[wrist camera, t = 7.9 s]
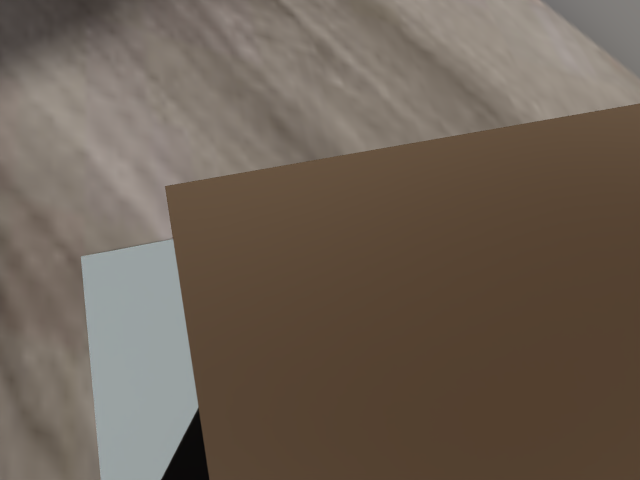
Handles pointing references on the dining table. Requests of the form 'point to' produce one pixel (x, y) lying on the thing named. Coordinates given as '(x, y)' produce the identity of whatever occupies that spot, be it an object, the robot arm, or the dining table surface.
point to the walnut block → (422, 308)
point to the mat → (138, 359)
